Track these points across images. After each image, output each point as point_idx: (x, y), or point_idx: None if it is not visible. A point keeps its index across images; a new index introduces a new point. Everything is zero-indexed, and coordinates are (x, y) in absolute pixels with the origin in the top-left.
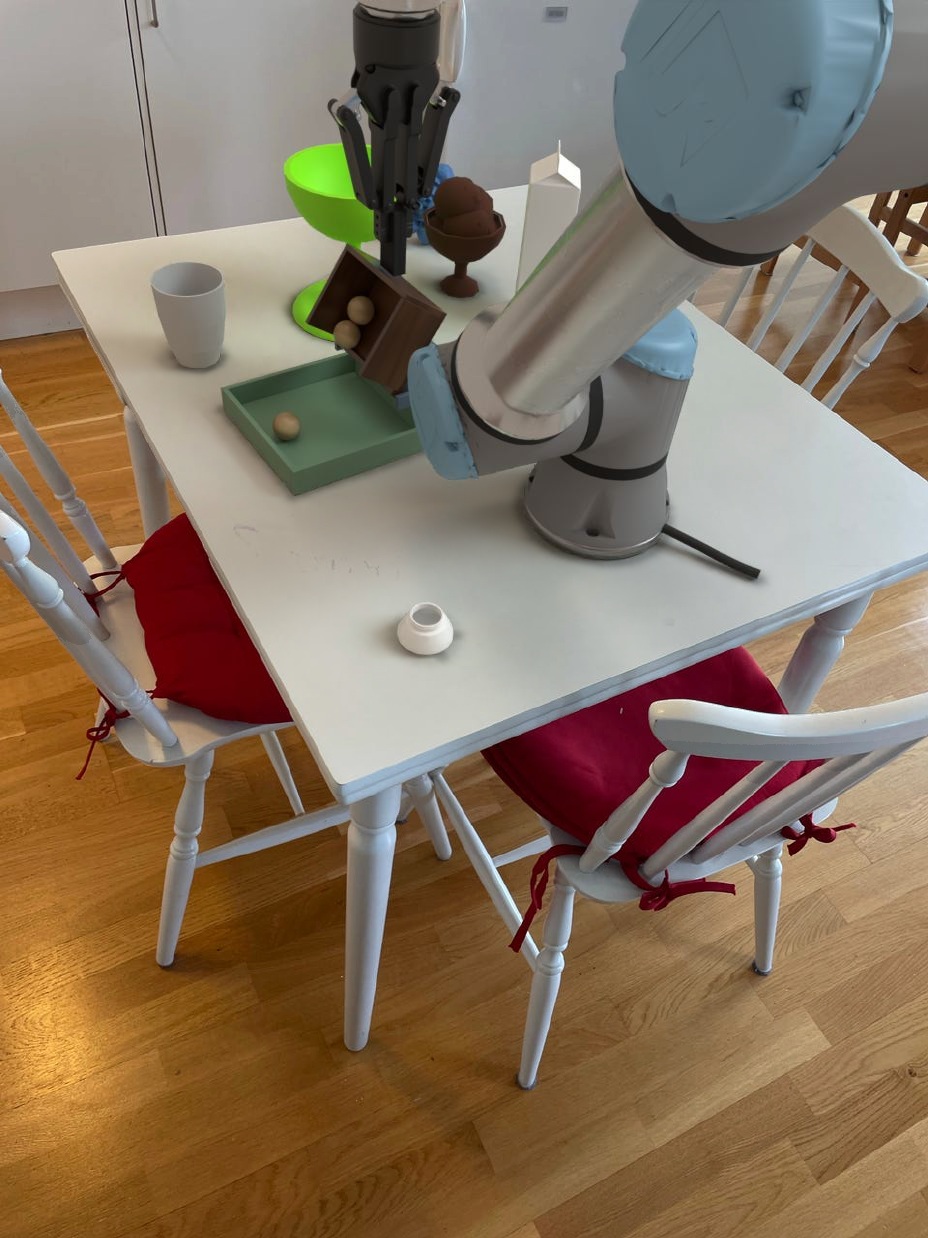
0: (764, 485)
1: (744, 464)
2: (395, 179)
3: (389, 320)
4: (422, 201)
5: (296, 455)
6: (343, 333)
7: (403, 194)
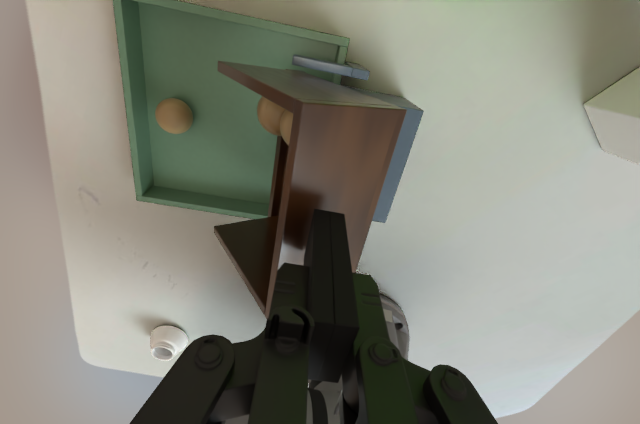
0: (464, 369)
1: (479, 355)
2: (361, 418)
3: (246, 281)
4: None
5: (176, 146)
6: (263, 125)
7: (354, 401)
